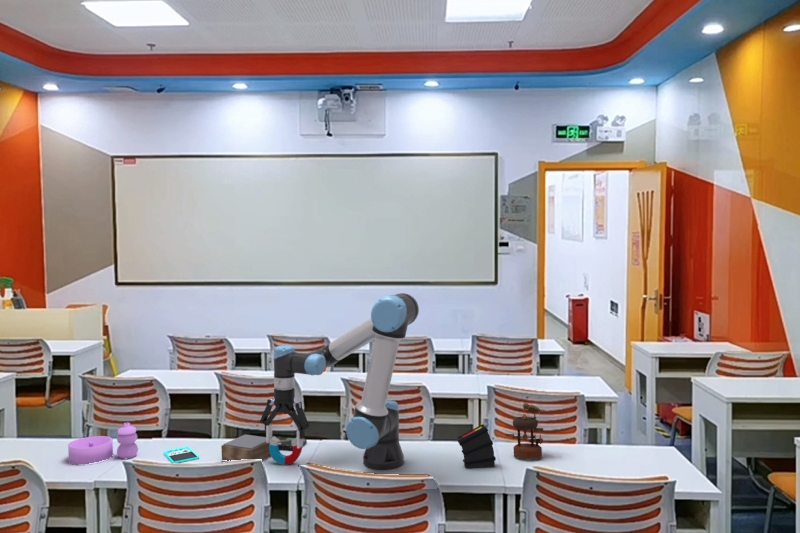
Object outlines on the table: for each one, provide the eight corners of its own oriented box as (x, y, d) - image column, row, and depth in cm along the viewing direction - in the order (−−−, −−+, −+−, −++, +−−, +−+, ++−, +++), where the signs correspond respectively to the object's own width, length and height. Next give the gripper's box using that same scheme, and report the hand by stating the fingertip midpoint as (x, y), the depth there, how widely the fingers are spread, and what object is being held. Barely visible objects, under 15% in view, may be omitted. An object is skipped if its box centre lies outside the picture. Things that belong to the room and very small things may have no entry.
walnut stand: (274, 454, 244) (274, 438, 244) (252, 466, 231) (251, 448, 231) (245, 450, 250) (245, 433, 250) (221, 461, 237) (221, 444, 237)
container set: (61, 466, 235) (60, 431, 234) (78, 452, 250) (77, 419, 249) (131, 463, 237) (130, 428, 236) (143, 450, 252) (142, 417, 252)
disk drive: (262, 451, 250) (298, 452, 248) (262, 444, 250) (297, 445, 247) (273, 443, 261) (307, 444, 258) (272, 436, 261) (306, 437, 258)
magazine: (504, 462, 227) (486, 426, 226) (471, 479, 226) (453, 443, 225) (501, 459, 231) (483, 423, 230) (469, 475, 230) (451, 440, 229)
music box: (541, 451, 244) (541, 400, 243) (549, 461, 233) (549, 407, 232) (502, 452, 243) (502, 401, 242) (508, 462, 232) (508, 408, 231)
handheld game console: (188, 449, 254) (188, 445, 254) (200, 460, 240) (200, 456, 240) (162, 454, 248) (162, 450, 248) (173, 465, 235) (173, 462, 235)
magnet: (269, 464, 233) (268, 438, 233) (271, 462, 236) (271, 435, 235) (300, 465, 232) (299, 438, 231) (302, 463, 234) (301, 436, 234)
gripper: (250, 386, 234) (250, 442, 235) (307, 393, 224) (307, 452, 225) (262, 382, 241) (262, 437, 242) (318, 389, 231) (318, 446, 232)
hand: (284, 444), depth 234 cm, fingers open, 13 cm apart
